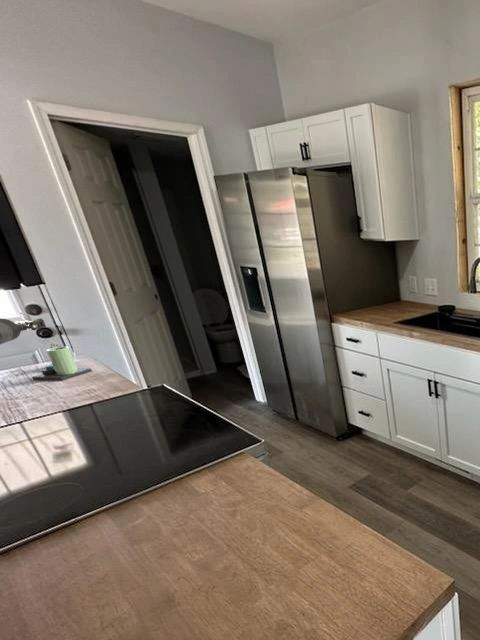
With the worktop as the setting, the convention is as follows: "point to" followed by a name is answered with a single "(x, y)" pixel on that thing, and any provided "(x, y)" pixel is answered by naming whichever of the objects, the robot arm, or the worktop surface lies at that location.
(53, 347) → the french fries carton
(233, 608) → the worktop surface
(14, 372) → the worktop surface
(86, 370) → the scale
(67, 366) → the cup
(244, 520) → the worktop surface
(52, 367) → the tare button
